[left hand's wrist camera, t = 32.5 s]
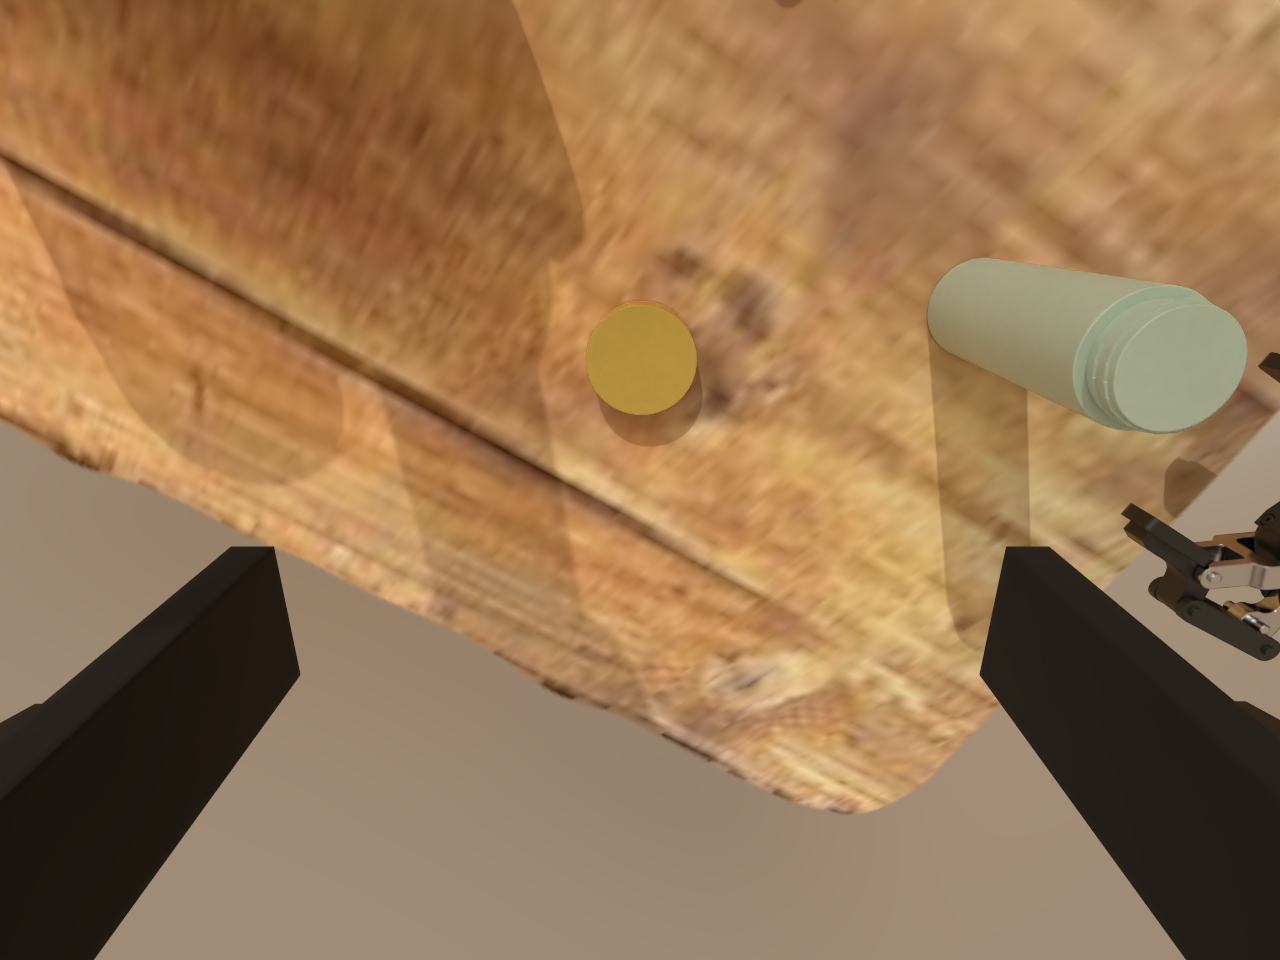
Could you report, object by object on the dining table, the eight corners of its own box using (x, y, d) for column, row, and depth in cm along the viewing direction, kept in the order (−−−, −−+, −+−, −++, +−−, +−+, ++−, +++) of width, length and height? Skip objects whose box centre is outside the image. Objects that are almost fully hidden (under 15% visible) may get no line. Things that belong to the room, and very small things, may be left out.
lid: (674, 419, 38) (675, 429, 37) (575, 387, 38) (572, 396, 36) (709, 320, 37) (713, 326, 35) (606, 285, 36) (605, 288, 34)
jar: (909, 296, 36) (1076, 351, 22) (999, 236, 35) (1232, 256, 21) (953, 374, 38) (1134, 472, 24) (1040, 320, 37) (1283, 388, 23)
